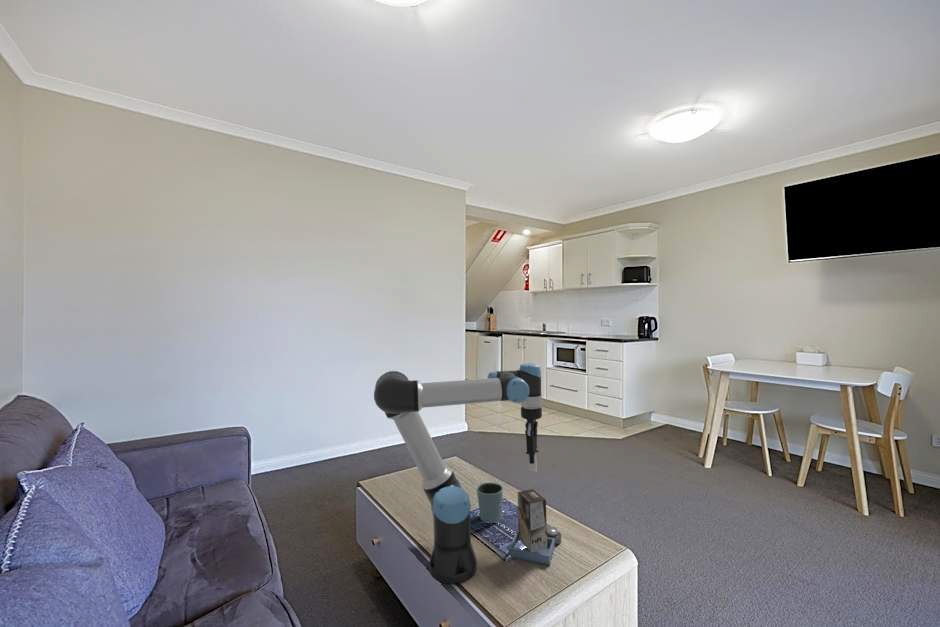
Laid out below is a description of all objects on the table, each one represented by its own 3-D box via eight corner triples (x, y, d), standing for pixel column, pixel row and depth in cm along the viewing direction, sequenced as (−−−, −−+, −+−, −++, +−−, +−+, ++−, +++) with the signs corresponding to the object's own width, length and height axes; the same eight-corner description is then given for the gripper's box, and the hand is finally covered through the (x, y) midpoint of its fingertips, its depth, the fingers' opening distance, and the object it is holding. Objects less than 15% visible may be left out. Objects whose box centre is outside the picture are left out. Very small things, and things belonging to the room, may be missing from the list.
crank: (558, 531, 141) (557, 513, 141) (556, 537, 137) (556, 519, 137) (525, 526, 145) (524, 508, 145) (523, 532, 141) (522, 514, 141)
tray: (549, 565, 126) (549, 556, 126) (509, 557, 131) (509, 548, 131) (554, 547, 136) (554, 538, 136) (516, 540, 140) (516, 531, 140)
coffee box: (548, 548, 130) (547, 500, 130) (531, 553, 128) (529, 503, 127) (534, 534, 139) (533, 488, 138) (517, 538, 136) (516, 491, 136)
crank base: (559, 547, 136) (559, 541, 136) (517, 539, 141) (517, 533, 141) (562, 536, 142) (562, 531, 142) (521, 529, 147) (521, 524, 147)
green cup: (508, 520, 153) (507, 489, 153) (485, 528, 148) (485, 496, 148) (494, 509, 162) (493, 480, 162) (472, 516, 157) (472, 485, 157)
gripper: (524, 401, 152) (525, 463, 152) (517, 410, 139) (519, 477, 140) (543, 402, 150) (545, 465, 150) (538, 411, 137) (540, 479, 137)
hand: (532, 471), depth 145 cm, fingers closed
